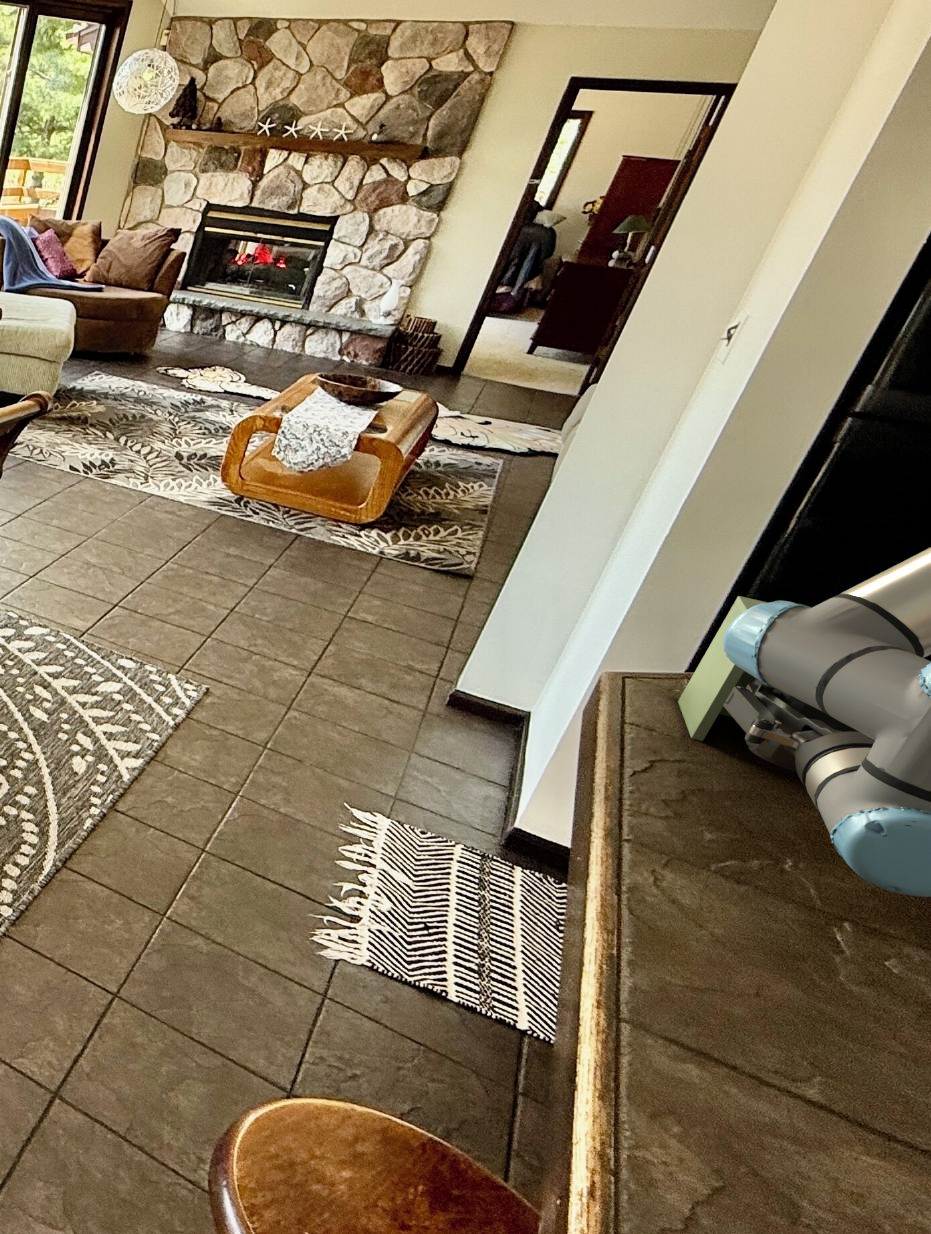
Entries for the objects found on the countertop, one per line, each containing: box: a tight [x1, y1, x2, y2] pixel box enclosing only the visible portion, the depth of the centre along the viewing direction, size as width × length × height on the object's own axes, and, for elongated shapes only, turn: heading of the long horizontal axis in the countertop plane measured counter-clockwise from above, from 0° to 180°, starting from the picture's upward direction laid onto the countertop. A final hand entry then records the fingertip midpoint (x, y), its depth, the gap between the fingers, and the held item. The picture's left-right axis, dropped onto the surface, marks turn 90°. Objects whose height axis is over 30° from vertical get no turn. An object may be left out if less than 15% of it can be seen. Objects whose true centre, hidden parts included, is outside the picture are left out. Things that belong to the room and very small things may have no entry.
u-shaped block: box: [677, 595, 768, 742], centre depth 114 cm, size 13×12×15 cm
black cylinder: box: [744, 690, 859, 773], centre depth 106 cm, size 7×7×10 cm
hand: (808, 696), depth 109 cm, fingers closed on black cylinder, 7 cm apart
